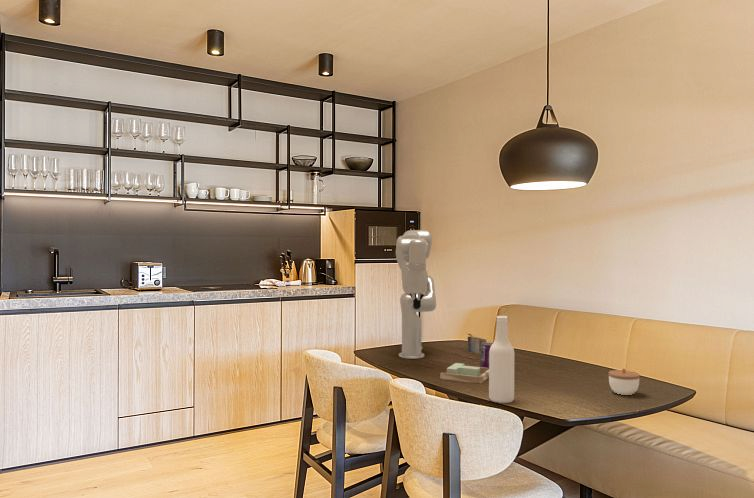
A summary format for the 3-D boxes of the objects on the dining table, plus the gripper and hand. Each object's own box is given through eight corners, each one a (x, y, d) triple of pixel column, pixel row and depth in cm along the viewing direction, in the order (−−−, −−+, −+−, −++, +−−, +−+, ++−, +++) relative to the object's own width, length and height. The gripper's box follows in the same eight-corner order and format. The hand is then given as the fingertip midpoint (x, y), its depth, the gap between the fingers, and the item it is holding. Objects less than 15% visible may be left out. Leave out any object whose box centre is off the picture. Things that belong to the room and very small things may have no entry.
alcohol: (491, 403, 200) (492, 318, 200) (486, 396, 209) (487, 314, 209) (516, 403, 201) (517, 318, 200) (510, 396, 209) (511, 314, 209)
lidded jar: (646, 396, 210) (646, 371, 210) (621, 398, 207) (621, 372, 207) (625, 389, 221) (625, 364, 220) (602, 391, 218) (602, 366, 217)
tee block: (474, 381, 233) (474, 371, 233) (446, 378, 238) (446, 368, 238) (482, 375, 243) (482, 365, 243) (455, 372, 249) (455, 362, 249)
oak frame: (454, 370, 252) (454, 364, 252) (492, 374, 245) (492, 368, 245) (440, 379, 236) (440, 373, 236) (481, 383, 228) (481, 377, 228)
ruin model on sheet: (466, 351, 297) (466, 332, 297) (471, 351, 298) (471, 332, 298) (481, 355, 287) (481, 336, 287) (486, 354, 289) (486, 335, 289)
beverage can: (496, 373, 246) (496, 345, 246) (479, 372, 248) (480, 344, 248) (496, 369, 253) (496, 342, 253) (480, 368, 255) (480, 342, 254)
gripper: (398, 267, 253) (398, 308, 254) (430, 269, 247) (430, 311, 248) (404, 266, 260) (404, 306, 261) (436, 267, 254) (435, 308, 255)
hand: (416, 308), depth 255 cm, fingers closed
